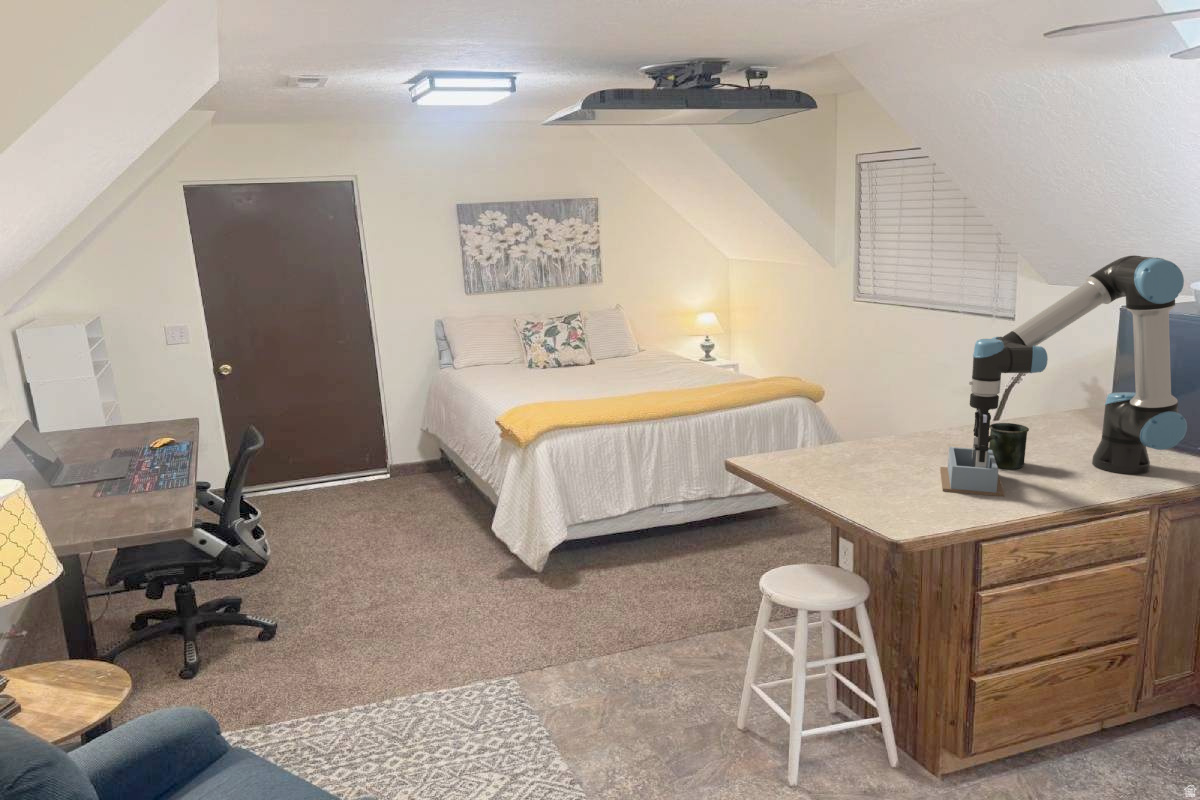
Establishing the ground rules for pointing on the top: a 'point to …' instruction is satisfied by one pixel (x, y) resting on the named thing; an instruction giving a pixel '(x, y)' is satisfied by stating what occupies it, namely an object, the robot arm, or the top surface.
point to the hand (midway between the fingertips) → (978, 465)
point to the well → (970, 474)
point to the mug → (1008, 444)
